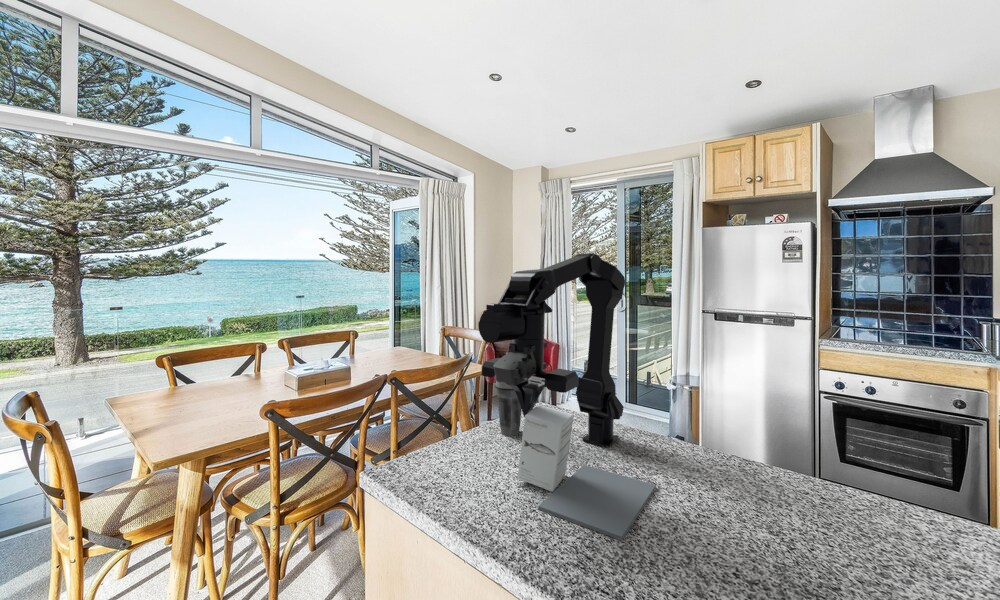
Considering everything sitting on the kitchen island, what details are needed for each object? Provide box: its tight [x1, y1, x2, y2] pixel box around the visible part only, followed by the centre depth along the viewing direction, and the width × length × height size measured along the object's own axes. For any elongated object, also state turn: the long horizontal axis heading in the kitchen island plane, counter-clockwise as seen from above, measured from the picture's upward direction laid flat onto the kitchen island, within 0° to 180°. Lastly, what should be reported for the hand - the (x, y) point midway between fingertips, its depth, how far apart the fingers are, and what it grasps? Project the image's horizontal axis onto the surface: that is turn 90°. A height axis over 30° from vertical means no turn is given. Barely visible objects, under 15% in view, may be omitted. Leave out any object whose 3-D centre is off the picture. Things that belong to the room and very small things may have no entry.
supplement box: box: [517, 404, 575, 493], centre depth 78 cm, size 7×7×13 cm
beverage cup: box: [494, 351, 522, 437], centre depth 102 cm, size 7×7×20 cm
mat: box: [537, 464, 657, 541], centre depth 72 cm, size 18×14×1 cm
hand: (526, 417), depth 80 cm, fingers closed
